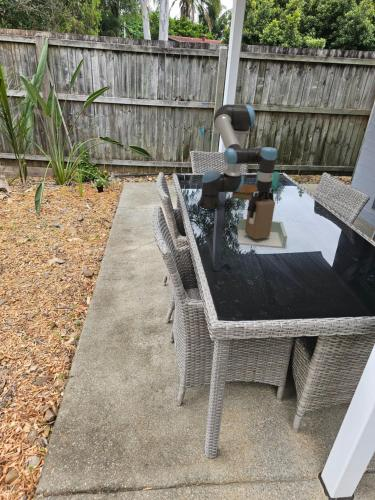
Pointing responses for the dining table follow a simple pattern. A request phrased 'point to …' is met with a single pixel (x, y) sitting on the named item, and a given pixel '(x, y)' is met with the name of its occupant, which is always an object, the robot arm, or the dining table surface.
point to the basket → (274, 181)
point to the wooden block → (261, 219)
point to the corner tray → (274, 240)
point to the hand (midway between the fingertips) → (258, 221)
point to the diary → (245, 192)
